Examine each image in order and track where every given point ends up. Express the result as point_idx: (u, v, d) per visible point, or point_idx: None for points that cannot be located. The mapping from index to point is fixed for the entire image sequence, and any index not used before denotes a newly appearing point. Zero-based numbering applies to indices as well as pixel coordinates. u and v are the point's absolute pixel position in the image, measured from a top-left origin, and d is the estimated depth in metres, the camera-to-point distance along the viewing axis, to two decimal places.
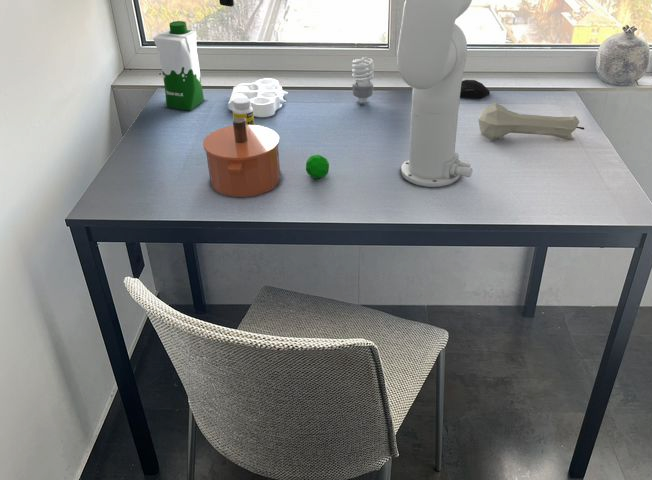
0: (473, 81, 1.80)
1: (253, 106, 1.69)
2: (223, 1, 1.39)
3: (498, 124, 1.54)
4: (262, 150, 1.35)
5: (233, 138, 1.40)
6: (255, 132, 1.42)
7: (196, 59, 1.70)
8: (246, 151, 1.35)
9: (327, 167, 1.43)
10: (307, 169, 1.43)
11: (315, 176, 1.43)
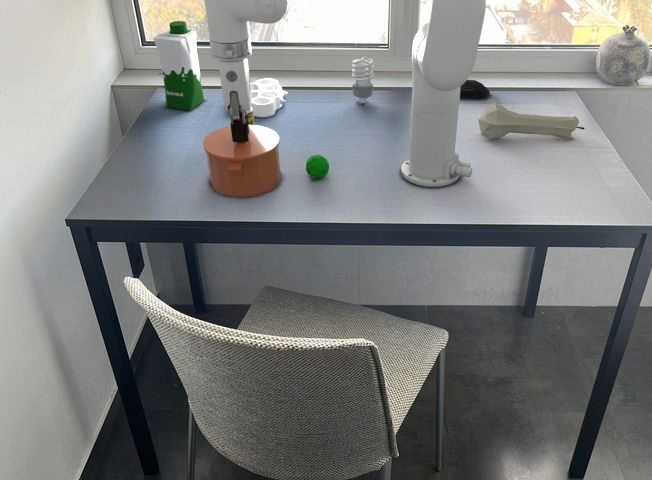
0: (473, 81, 1.80)
1: (253, 106, 1.69)
2: (239, 138, 1.36)
3: (498, 124, 1.54)
4: (262, 150, 1.35)
5: None
6: (255, 132, 1.42)
7: (196, 59, 1.70)
8: (246, 151, 1.35)
9: (327, 167, 1.43)
10: (307, 169, 1.43)
11: (315, 176, 1.43)
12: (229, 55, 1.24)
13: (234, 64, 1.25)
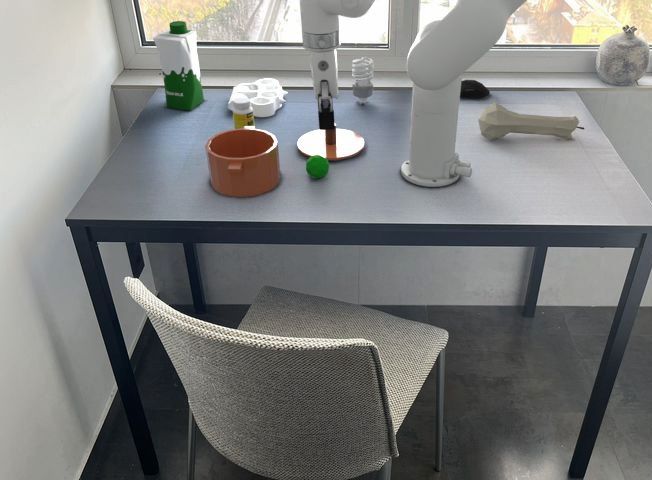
0: (473, 81, 1.80)
1: (253, 106, 1.69)
2: (326, 126, 1.40)
3: (498, 124, 1.54)
4: (352, 151, 1.52)
5: (323, 140, 1.57)
6: (341, 135, 1.59)
7: (196, 59, 1.70)
8: (338, 152, 1.52)
9: (327, 167, 1.43)
10: (307, 169, 1.43)
11: (315, 176, 1.43)
12: (322, 45, 1.31)
13: (326, 54, 1.32)
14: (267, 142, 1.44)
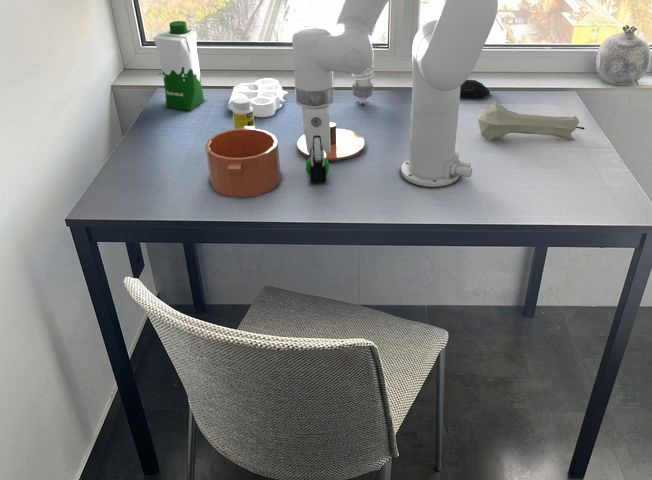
0: (473, 81, 1.80)
1: (253, 106, 1.69)
2: (318, 180, 1.42)
3: (498, 124, 1.54)
4: (352, 151, 1.52)
5: None
6: (341, 135, 1.59)
7: (196, 59, 1.70)
8: (338, 152, 1.52)
9: (327, 167, 1.43)
10: (307, 169, 1.43)
11: None
12: (315, 103, 1.30)
13: (319, 111, 1.32)
14: (267, 142, 1.44)
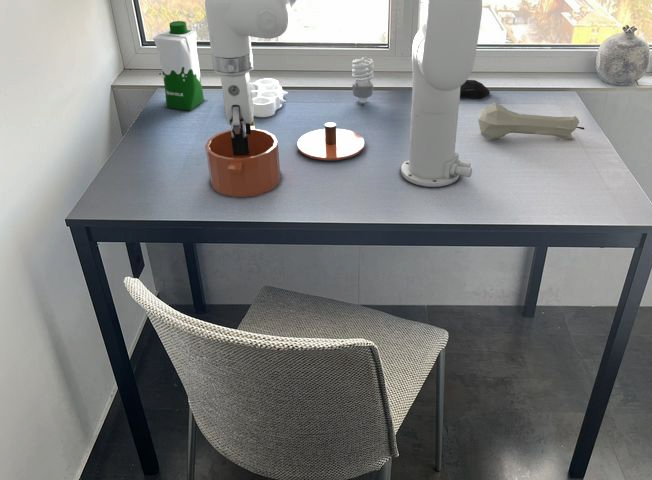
0: (473, 81, 1.80)
1: None
2: (240, 152, 1.34)
3: (498, 124, 1.54)
4: (352, 151, 1.52)
5: (323, 140, 1.57)
6: (341, 135, 1.59)
7: (196, 59, 1.70)
8: (338, 152, 1.52)
9: None
10: None
11: None
12: (231, 70, 1.25)
13: (236, 78, 1.27)
14: (267, 142, 1.44)
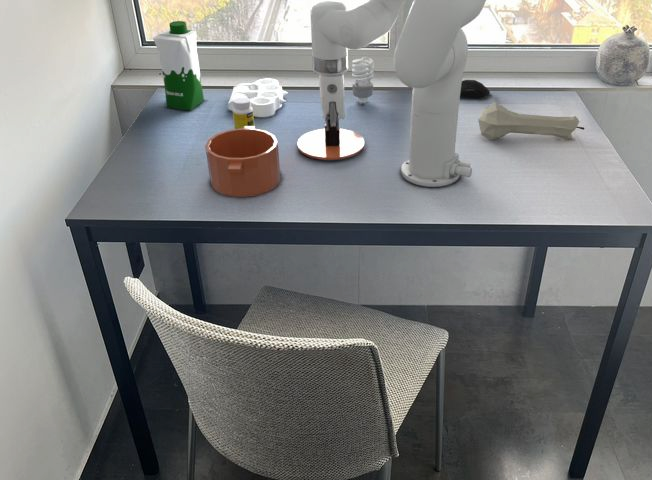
0: (473, 81, 1.80)
1: (253, 106, 1.69)
2: (333, 143, 1.53)
3: (498, 124, 1.54)
4: (352, 151, 1.53)
5: (323, 140, 1.57)
6: (341, 135, 1.59)
7: (196, 59, 1.70)
8: (338, 152, 1.52)
9: None
10: None
11: None
12: (332, 70, 1.41)
13: (335, 78, 1.43)
14: (267, 142, 1.44)
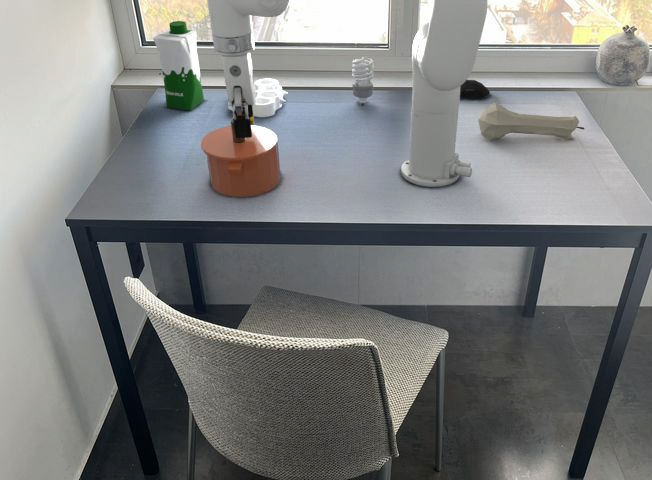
0: (473, 81, 1.80)
1: (253, 106, 1.69)
2: (243, 134, 1.32)
3: (498, 124, 1.54)
4: (260, 150, 1.35)
5: (231, 138, 1.40)
6: (252, 132, 1.42)
7: (196, 59, 1.70)
8: (244, 151, 1.35)
9: None
10: None
11: None
12: (232, 49, 1.23)
13: (237, 58, 1.25)
14: None
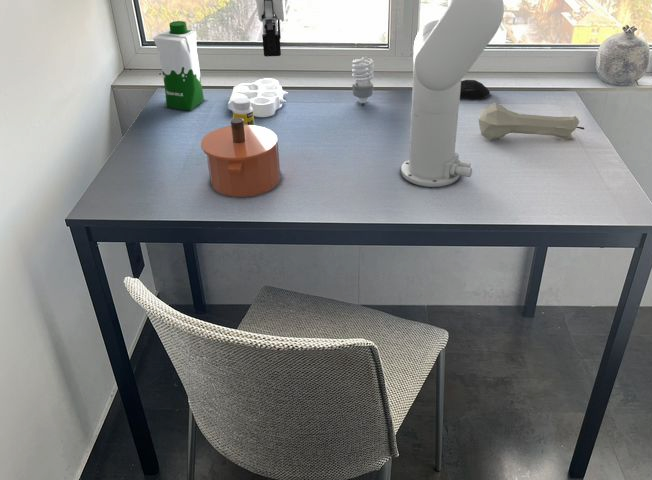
0: (473, 81, 1.80)
1: (253, 106, 1.69)
2: (272, 52, 1.28)
3: (498, 124, 1.54)
4: (260, 150, 1.35)
5: (231, 138, 1.40)
6: (252, 132, 1.42)
7: (196, 59, 1.70)
8: (244, 151, 1.35)
9: None
10: None
11: None
12: None
13: None
14: None
